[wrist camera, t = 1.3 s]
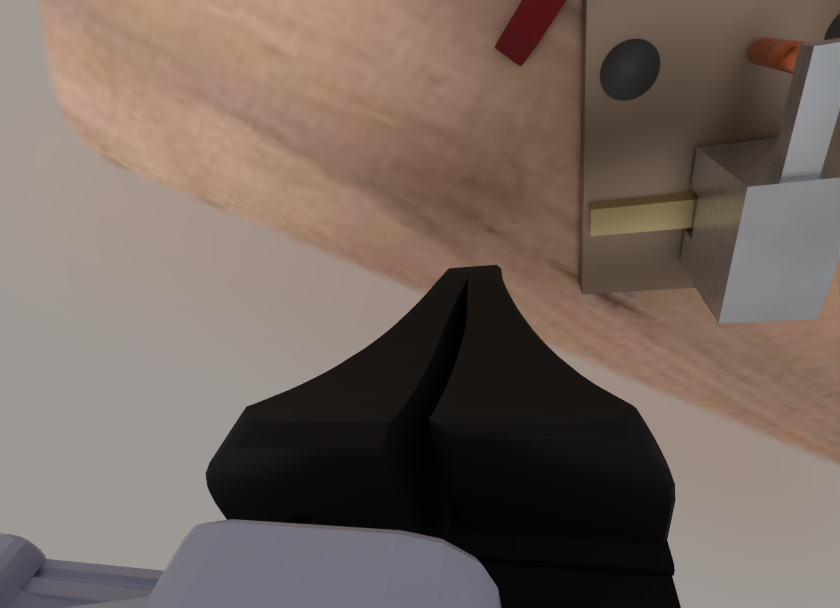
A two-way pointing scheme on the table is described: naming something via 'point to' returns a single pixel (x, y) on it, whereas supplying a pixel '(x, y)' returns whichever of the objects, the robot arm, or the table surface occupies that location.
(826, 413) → the table surface
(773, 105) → the board
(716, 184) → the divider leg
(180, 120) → the table surface
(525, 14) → the bracket
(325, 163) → the table surface
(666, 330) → the table surface
